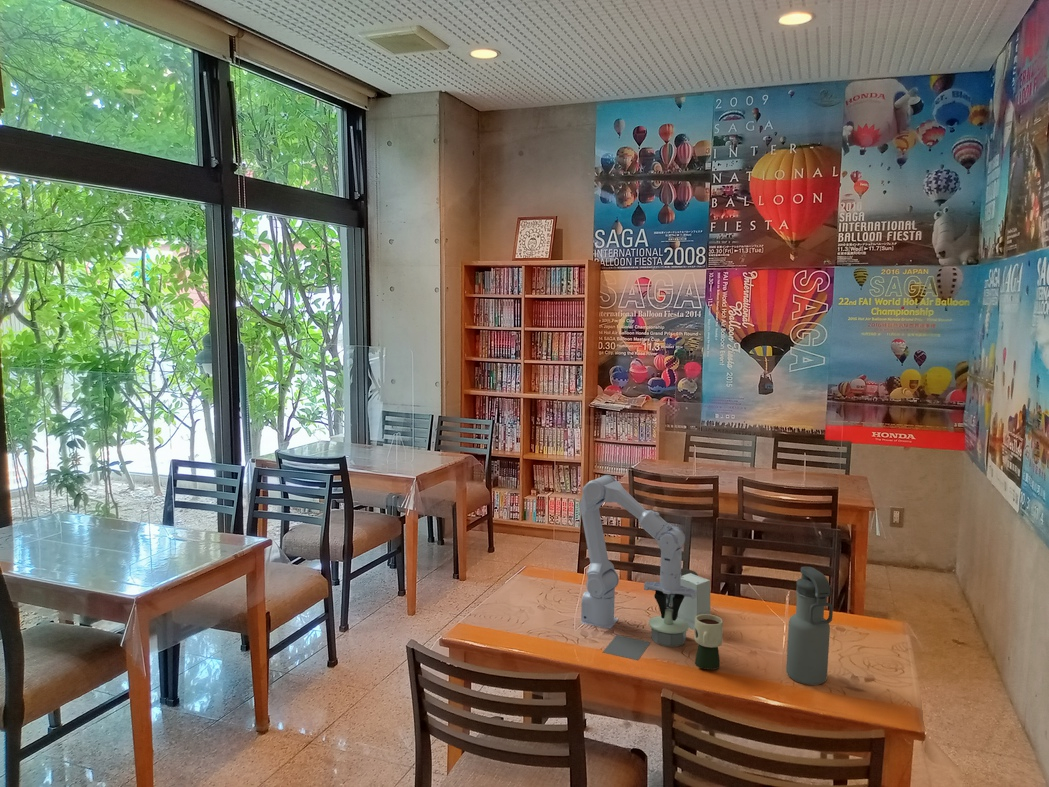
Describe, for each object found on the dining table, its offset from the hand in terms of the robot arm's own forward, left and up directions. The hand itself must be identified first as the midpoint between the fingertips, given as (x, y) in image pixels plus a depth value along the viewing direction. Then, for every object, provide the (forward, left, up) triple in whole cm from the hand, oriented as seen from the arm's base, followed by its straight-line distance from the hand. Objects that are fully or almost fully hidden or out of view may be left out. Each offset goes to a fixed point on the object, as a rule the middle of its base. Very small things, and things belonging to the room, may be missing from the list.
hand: (669, 618), depth 205 cm
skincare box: (+4, +13, -7) cm, 15 cm away
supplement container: (-2, +23, -7) cm, 24 cm away
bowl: (0, 0, -7) cm, 7 cm away
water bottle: (+37, -4, -7) cm, 38 cm away
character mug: (+13, -10, -7) cm, 18 cm away
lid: (0, 0, -2) cm, 2 cm away
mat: (-9, -10, -7) cm, 15 cm away
